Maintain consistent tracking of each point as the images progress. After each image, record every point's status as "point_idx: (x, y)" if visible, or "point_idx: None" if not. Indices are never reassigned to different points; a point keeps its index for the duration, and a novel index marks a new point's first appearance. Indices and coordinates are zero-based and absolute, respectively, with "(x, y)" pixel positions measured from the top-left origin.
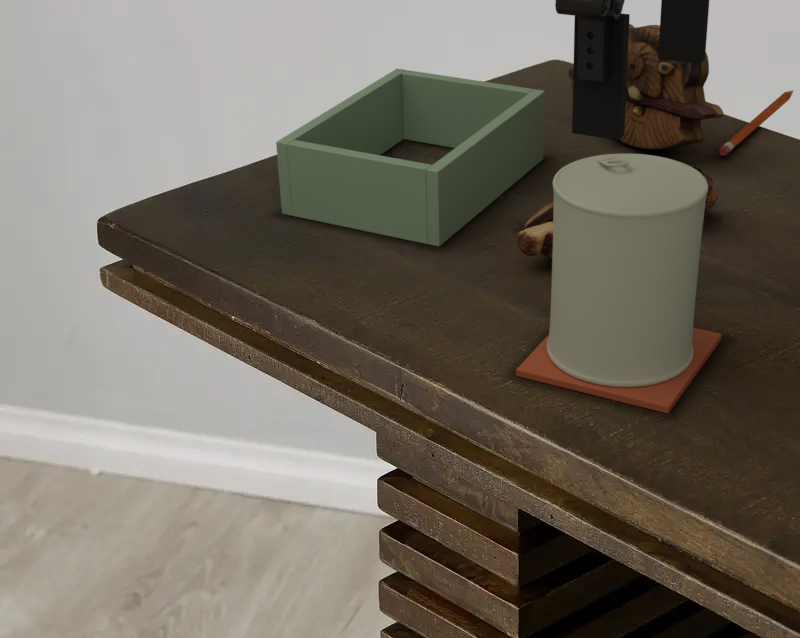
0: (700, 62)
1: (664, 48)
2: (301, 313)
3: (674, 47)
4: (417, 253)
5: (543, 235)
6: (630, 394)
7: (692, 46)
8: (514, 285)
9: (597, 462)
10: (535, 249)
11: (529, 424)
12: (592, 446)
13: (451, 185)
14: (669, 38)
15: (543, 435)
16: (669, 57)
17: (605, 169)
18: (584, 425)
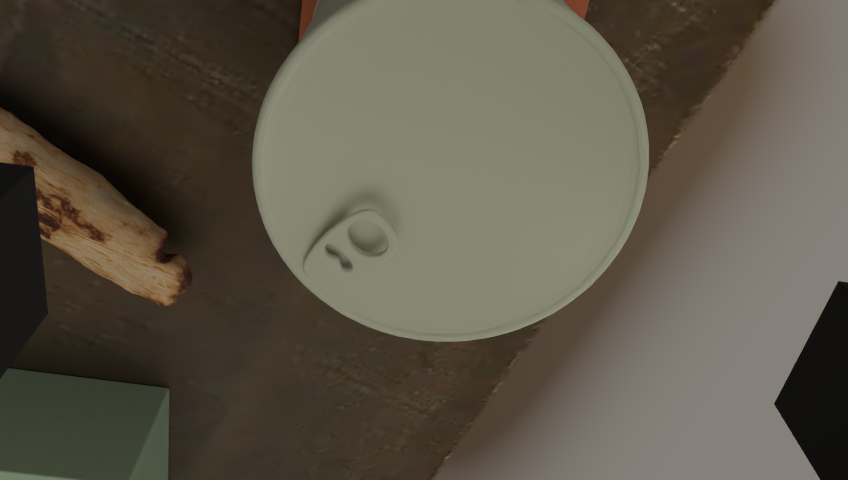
0: (29, 171)
1: (29, 319)
2: (432, 475)
3: (20, 291)
4: (202, 406)
5: (168, 266)
6: (580, 2)
7: (8, 234)
8: (247, 259)
9: (764, 13)
10: (187, 263)
11: (668, 134)
12: (719, 30)
13: (92, 445)
14: (5, 330)
15: (696, 108)
16: (38, 283)
17: (379, 250)
18: (659, 56)
